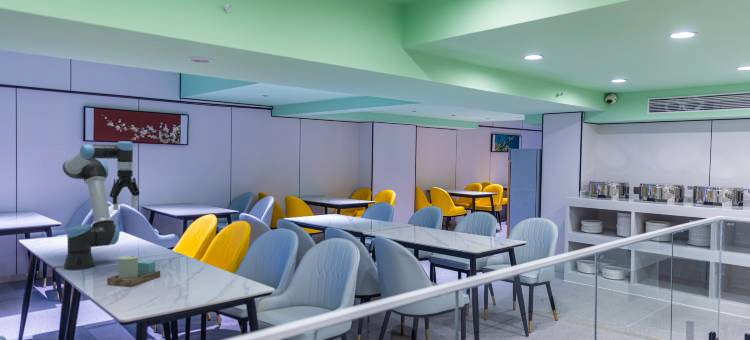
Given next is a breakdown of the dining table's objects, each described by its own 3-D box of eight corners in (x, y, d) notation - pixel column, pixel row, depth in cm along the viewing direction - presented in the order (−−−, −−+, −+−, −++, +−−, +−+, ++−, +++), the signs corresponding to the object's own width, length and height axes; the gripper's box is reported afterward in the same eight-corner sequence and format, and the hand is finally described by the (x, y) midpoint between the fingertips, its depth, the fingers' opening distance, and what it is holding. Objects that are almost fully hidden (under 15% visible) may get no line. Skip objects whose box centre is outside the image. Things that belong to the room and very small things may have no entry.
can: (142, 278, 268) (142, 255, 268) (129, 282, 259) (129, 258, 259) (127, 277, 271) (127, 254, 270) (113, 281, 262) (113, 257, 262)
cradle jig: (107, 284, 260) (107, 278, 260) (137, 274, 282) (137, 268, 282) (131, 286, 257) (131, 280, 257) (160, 276, 278) (160, 270, 278)
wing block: (132, 275, 274) (132, 262, 274) (138, 273, 279) (138, 260, 279) (149, 277, 272) (149, 263, 272) (155, 274, 277) (155, 261, 277)
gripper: (114, 170, 273) (114, 211, 274) (146, 169, 297) (146, 206, 298) (102, 170, 275) (102, 210, 275) (134, 168, 299) (134, 206, 300)
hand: (125, 208), depth 287 cm, fingers open, 13 cm apart
